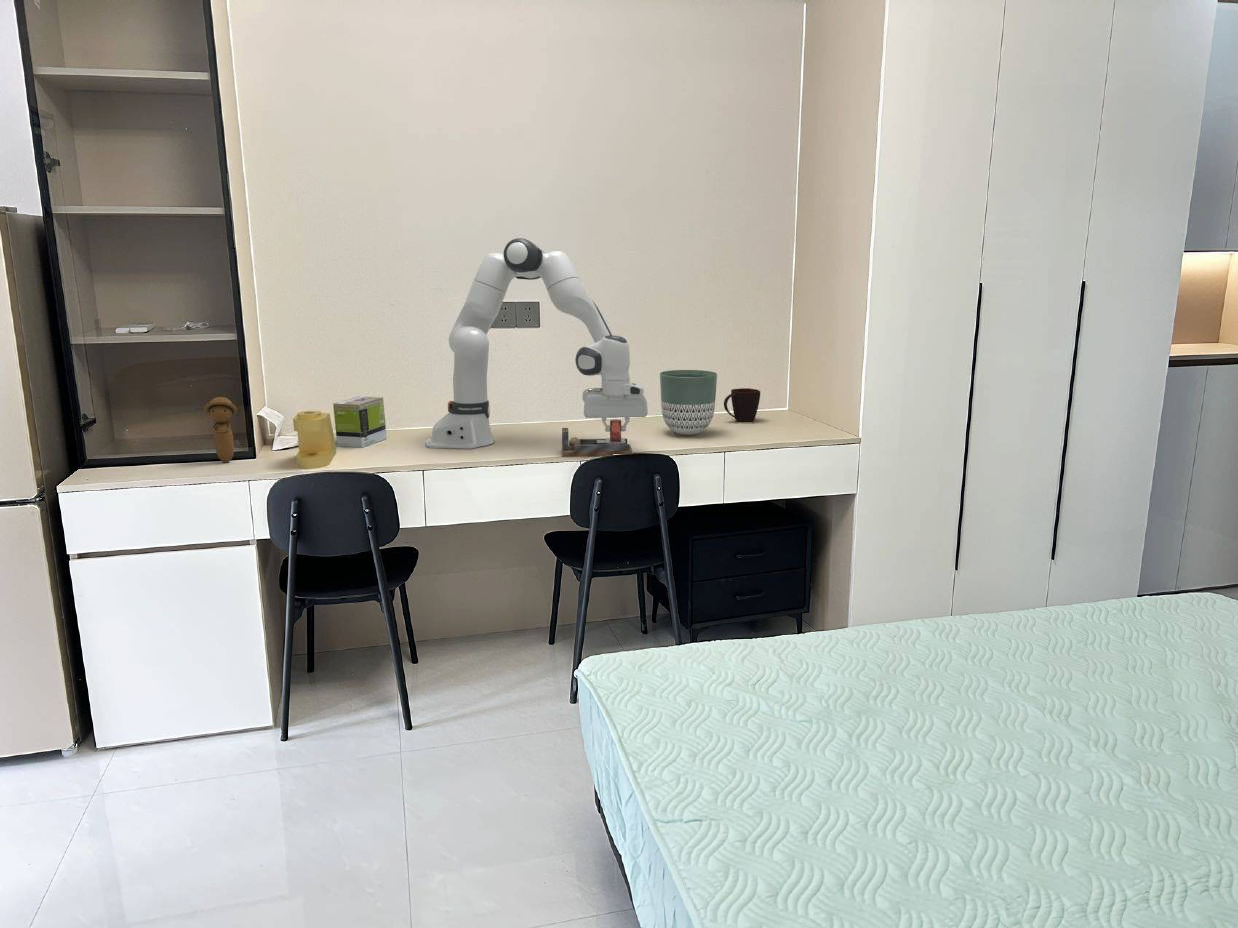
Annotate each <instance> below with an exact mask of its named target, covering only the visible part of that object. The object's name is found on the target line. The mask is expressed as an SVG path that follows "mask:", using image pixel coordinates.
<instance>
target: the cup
mask: <svg viewBox="0 0 1238 928" xmlns="http://www.w3.org/2000/svg"><path fill="white" fill-rule="evenodd" d="M730 399H731V405H732V411H733V414H732V413H731V411H730V410H729V407H728V402H729V400H730ZM760 401H761V390H760V389H756V388H755V389H754V388H750V387H748V388H747V387H746V388H744V387H743V388H732V389H731V390H730V394H728V395H727V396H726V397H725V398H724V400H723V408H724V410H725V411H726V412H727V414H728V415H729V416H731V418H734V419H735V422H737V421H738V422H737V423H739V422H752V423H754V422H753V421H755V420H756V416H757V413H758V410H759V406H760V405H759V404H760Z"/></svg>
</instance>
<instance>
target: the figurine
mask: <svg viewBox="0 0 1238 928" xmlns="http://www.w3.org/2000/svg"><path fill="white" fill-rule="evenodd" d="M203 408H204V412H205V413H206V414H208V415H209V416H210V418H211V419H212V420H213V421H214V422H215V423H214V425H213V426H212V429H213V442H214V443H213V444H214V449H215V454H216V455H217V457H218V459H219V460H220V461H221V462H223V463H229V462H230V461H231V460H232V458H233V456H234V453H235V442H234V441H235V440H234V435H233V434H234V433H233V430H232V429H231V424H230V422H229V420H230V419H231V418H232V416H234V415H236V413H237V412H238V408H237V406H236V405H235V404H233V402H232V401H231V400H230V399H229V398H227V397H223V396H218V397H215V398H213V399H211V400H210V401H209V402H207V403H206V404H205V405H204V407H203Z"/></svg>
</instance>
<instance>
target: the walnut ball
mask: <svg viewBox="0 0 1238 928" xmlns="http://www.w3.org/2000/svg"><path fill="white" fill-rule="evenodd" d="M579 439H580V438H578V437H575V436H574V437H571V438H570V439H569V445H570V446H575V445H580V440H579Z"/></svg>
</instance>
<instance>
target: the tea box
mask: <svg viewBox="0 0 1238 928" xmlns="http://www.w3.org/2000/svg"><path fill="white" fill-rule="evenodd" d="M384 403H385V402H384V397H382V396H381V397H379V396H378V397H377V396H356V397H352V398H348V399H344V400H342V401H337V402H335V403H333V405H332V406H333V407H332V408H333V416H334V417H333V419H334V425H335V426H334V427H335V438H336V440H335V441H336V445H337V446H336V447H343V448H345V447H346V448H358V449H362V448H365V447H368V446H371V445H373V444H374V445H375V444H376V443H379V442H381V441H383V440H387V427H386V426H387V425H386V415H385V404H384Z"/></svg>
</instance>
